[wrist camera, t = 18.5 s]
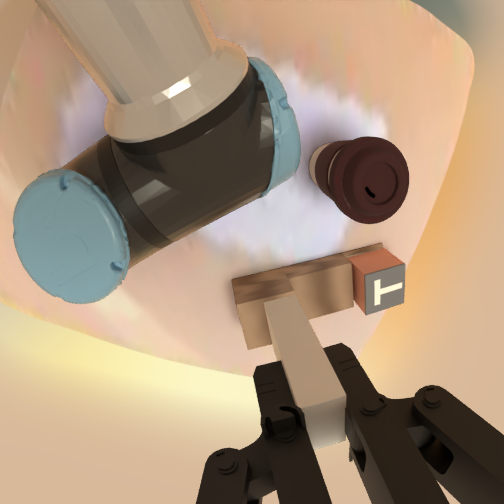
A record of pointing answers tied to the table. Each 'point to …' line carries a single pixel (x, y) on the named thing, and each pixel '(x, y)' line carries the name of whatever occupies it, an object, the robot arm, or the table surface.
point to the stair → (295, 291)
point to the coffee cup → (362, 177)
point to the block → (377, 280)
